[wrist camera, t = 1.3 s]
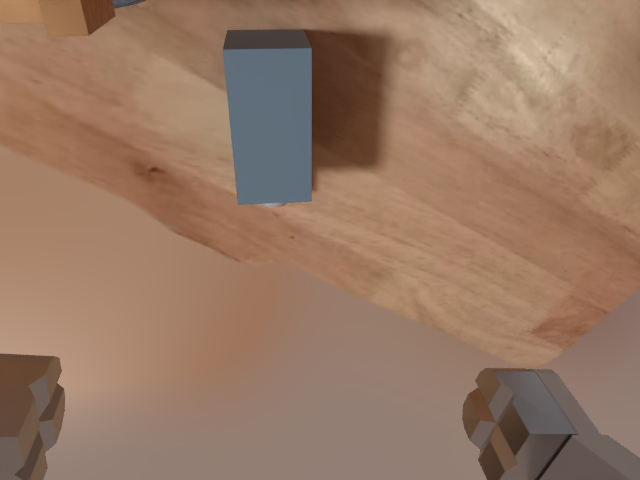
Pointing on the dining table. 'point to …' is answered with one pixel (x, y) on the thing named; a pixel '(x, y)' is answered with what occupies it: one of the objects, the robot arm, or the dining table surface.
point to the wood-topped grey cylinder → (62, 14)
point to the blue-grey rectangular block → (270, 114)
